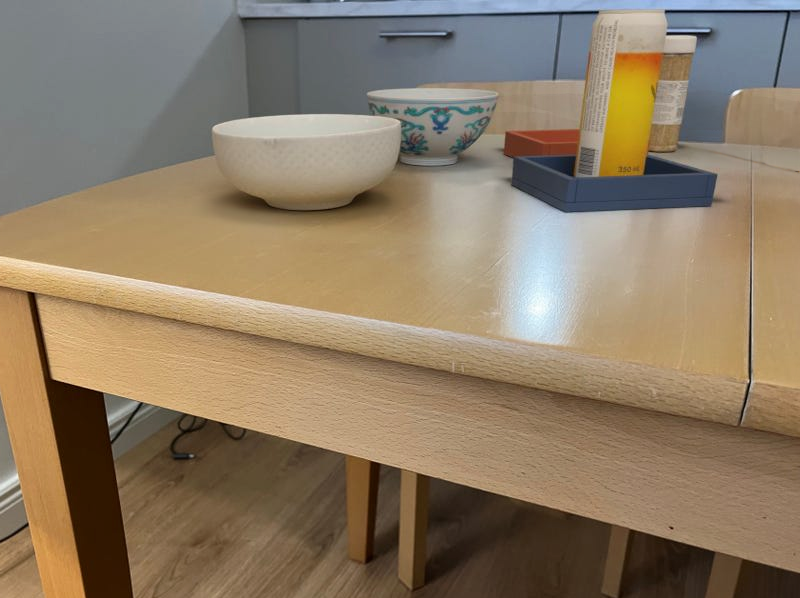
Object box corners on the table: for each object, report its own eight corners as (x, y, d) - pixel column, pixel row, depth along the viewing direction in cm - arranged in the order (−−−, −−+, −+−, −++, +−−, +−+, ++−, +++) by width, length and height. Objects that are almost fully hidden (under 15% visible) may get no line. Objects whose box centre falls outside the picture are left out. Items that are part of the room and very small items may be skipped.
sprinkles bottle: (653, 146, 99) (672, 35, 93) (685, 150, 95) (705, 35, 90) (631, 149, 97) (648, 35, 91) (662, 153, 93) (682, 35, 88)
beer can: (654, 187, 70) (685, 9, 64) (613, 195, 67) (641, 9, 61) (599, 177, 74) (622, 11, 68) (558, 184, 71) (579, 10, 65)
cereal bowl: (292, 178, 80) (290, 109, 77) (431, 195, 71) (435, 117, 68) (177, 207, 67) (170, 125, 65) (329, 232, 59) (329, 139, 56)
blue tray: (637, 180, 77) (641, 152, 76) (711, 206, 66) (718, 173, 65) (510, 184, 76) (513, 156, 75) (564, 212, 64) (569, 179, 63)
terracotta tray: (598, 150, 96) (601, 128, 95) (646, 165, 85) (650, 140, 84) (503, 154, 94) (505, 130, 93) (540, 169, 84) (543, 143, 83)
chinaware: (414, 177, 80) (417, 100, 77) (342, 158, 92) (342, 91, 89) (520, 164, 87) (527, 94, 84) (440, 148, 99) (443, 86, 96)
